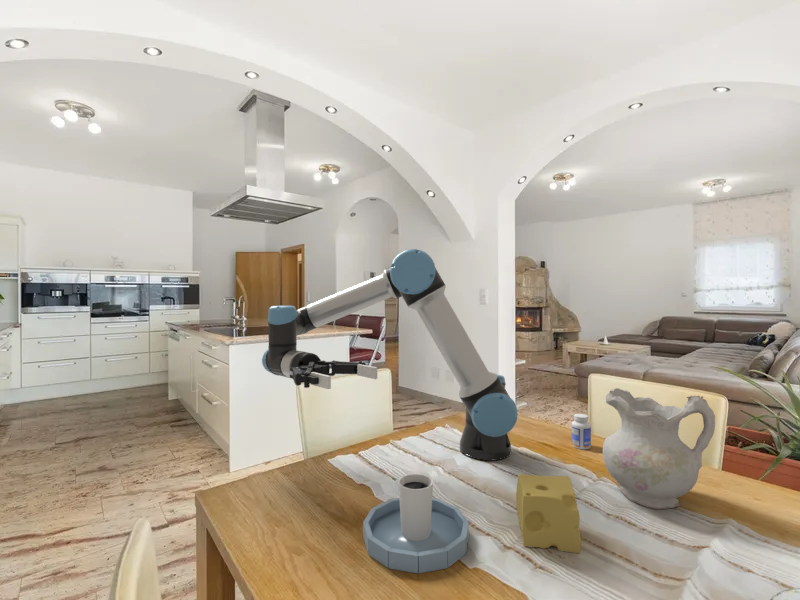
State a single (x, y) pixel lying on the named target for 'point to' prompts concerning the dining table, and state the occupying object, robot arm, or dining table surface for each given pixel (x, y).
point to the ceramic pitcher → (654, 449)
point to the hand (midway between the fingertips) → (354, 377)
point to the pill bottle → (581, 432)
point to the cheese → (548, 512)
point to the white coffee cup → (415, 506)
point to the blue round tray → (416, 555)
